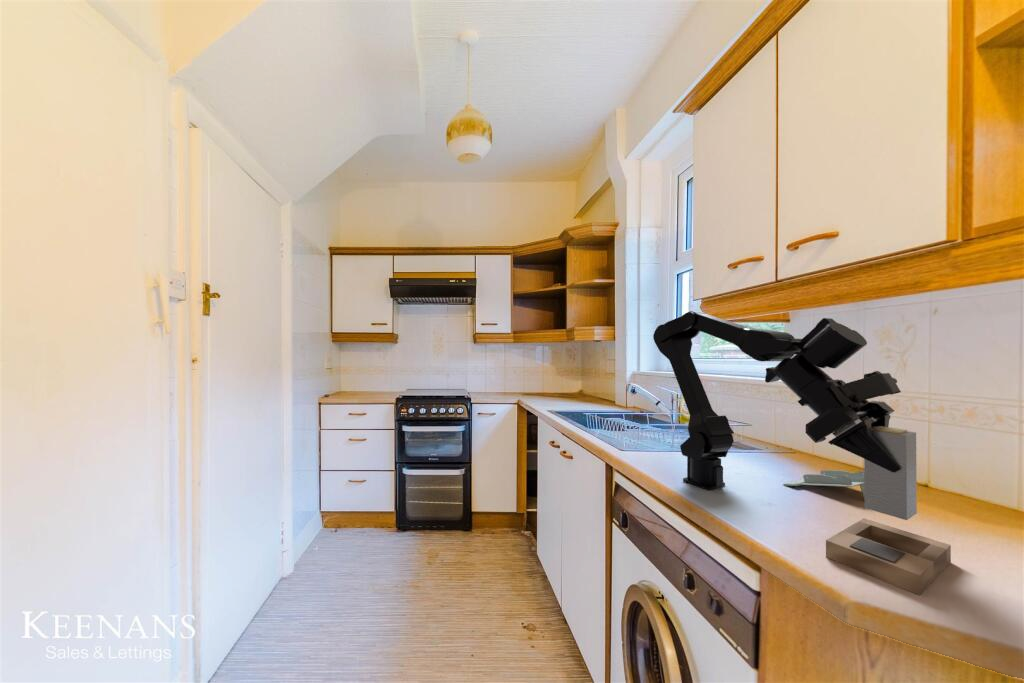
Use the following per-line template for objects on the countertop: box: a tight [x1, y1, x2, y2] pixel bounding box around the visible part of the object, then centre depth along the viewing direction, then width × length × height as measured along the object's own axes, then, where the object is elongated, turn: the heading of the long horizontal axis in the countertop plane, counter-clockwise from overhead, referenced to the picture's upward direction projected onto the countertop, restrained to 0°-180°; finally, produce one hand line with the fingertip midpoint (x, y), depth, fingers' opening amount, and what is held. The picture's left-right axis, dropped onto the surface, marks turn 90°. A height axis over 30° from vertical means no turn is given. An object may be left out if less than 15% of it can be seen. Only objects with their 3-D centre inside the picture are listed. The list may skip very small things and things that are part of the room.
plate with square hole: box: [825, 518, 952, 596], centre depth 54 cm, size 10×15×3 cm, turn 120°
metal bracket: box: [781, 469, 865, 500], centre depth 81 cm, size 14×6×15 cm
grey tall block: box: [863, 426, 918, 521], centre depth 55 cm, size 4×4×12 cm
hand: (903, 468), depth 54 cm, fingers closed on grey tall block, 4 cm apart
